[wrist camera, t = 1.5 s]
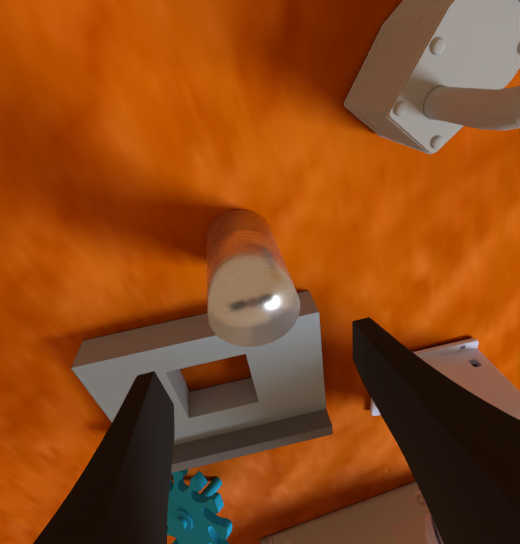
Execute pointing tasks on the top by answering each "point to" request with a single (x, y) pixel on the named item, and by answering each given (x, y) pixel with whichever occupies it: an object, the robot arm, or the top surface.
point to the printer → (365, 522)
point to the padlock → (440, 72)
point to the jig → (222, 398)
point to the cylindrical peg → (248, 282)
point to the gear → (196, 511)
